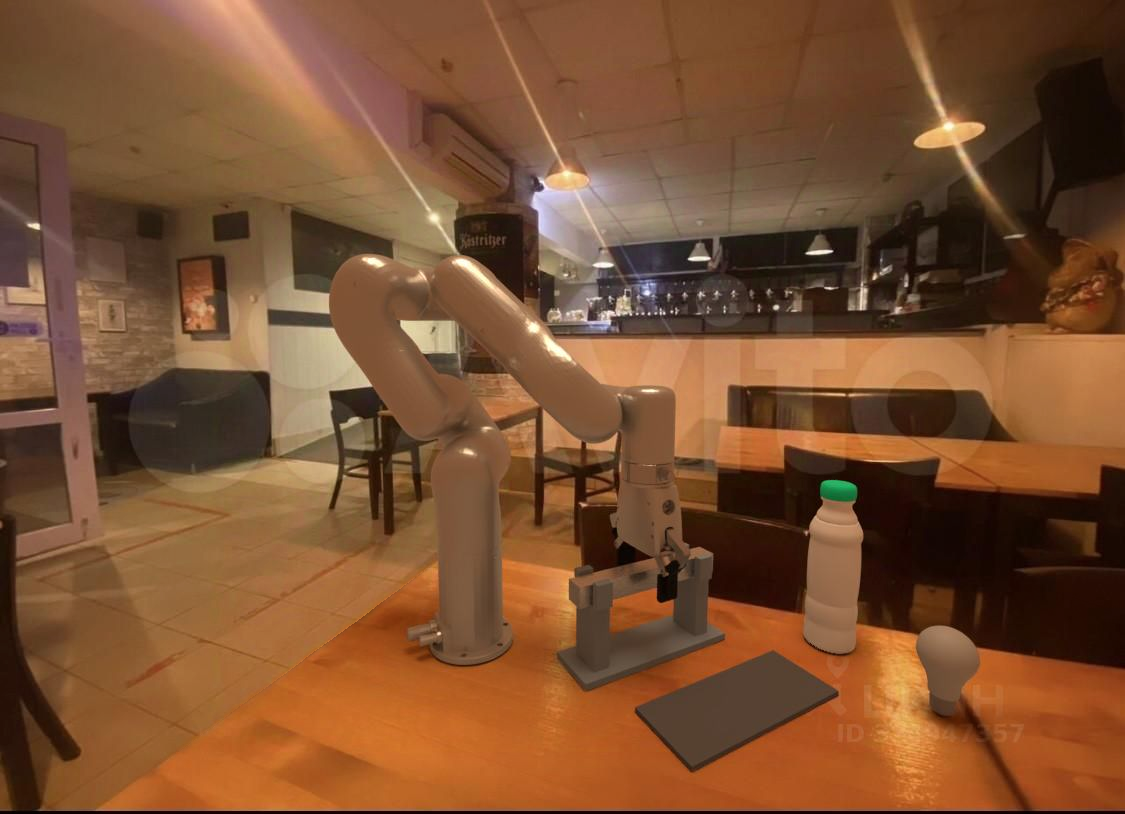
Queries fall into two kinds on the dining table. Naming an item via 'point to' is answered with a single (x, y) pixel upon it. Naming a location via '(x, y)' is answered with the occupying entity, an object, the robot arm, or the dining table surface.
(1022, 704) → the dining table surface
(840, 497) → the water bottle
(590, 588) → the rail
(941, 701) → the lightbulb
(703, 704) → the mat
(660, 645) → the rack
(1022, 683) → the dining table surface
